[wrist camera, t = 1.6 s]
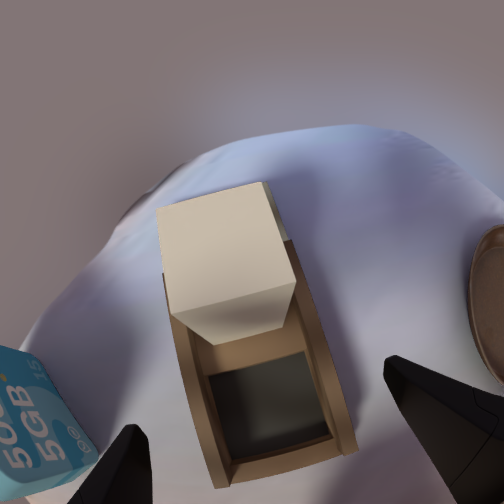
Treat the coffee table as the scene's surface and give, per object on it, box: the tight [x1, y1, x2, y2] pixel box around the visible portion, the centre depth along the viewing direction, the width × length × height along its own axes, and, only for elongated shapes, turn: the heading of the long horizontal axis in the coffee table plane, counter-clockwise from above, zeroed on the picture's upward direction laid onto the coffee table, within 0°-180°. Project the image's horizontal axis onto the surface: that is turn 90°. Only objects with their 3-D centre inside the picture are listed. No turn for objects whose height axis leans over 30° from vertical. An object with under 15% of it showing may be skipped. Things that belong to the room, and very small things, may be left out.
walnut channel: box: [162, 182, 359, 489], centre depth 21 cm, size 23×10×4 cm, turn 15°
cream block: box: [156, 181, 296, 345], centre depth 17 cm, size 5×5×10 cm
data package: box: [0, 345, 99, 501], centre depth 14 cm, size 12×4×12 cm, turn 46°
